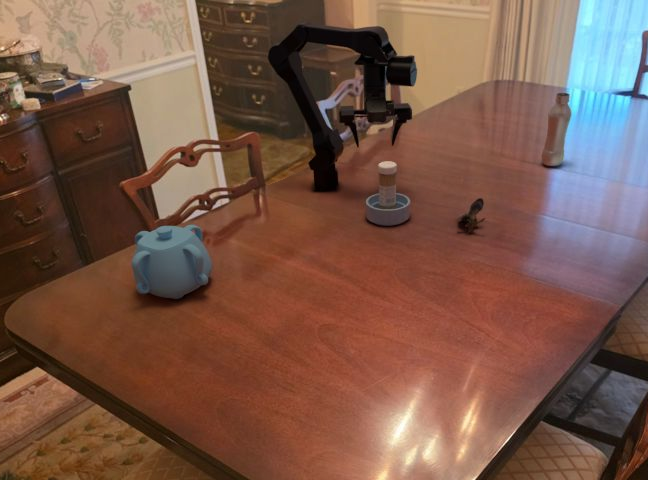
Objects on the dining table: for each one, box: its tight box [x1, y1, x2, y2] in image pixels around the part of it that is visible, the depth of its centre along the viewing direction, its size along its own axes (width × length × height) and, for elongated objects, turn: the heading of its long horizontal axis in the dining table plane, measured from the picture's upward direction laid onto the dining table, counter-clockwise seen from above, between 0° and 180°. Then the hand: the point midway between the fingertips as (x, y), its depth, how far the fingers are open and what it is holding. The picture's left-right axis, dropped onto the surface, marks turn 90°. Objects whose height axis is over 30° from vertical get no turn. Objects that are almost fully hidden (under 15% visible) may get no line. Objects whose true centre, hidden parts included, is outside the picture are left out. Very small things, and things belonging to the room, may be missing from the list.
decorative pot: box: [131, 224, 213, 300], centre depth 131 cm, size 16×16×14 cm
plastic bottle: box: [541, 92, 572, 167], centre depth 179 cm, size 6×7×20 cm
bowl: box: [365, 192, 411, 227], centre depth 158 cm, size 11×11×4 cm
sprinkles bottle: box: [377, 160, 398, 210], centre depth 155 cm, size 5×5×14 cm
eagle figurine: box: [456, 197, 486, 235], centre depth 152 cm, size 8×7×9 cm
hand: (375, 146), depth 164 cm, fingers open, 9 cm apart
